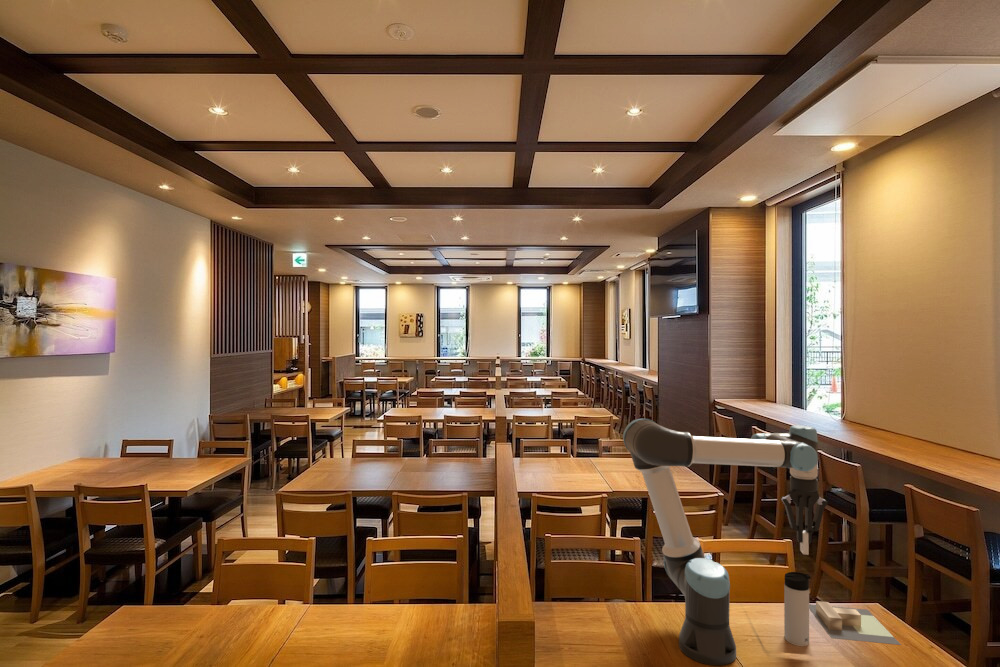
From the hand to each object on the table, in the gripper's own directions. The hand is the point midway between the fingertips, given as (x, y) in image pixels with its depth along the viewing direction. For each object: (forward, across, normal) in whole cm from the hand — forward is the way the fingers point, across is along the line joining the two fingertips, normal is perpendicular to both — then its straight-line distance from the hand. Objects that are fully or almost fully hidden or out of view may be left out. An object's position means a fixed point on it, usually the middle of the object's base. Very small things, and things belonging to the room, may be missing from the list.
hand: (804, 552), depth 166 cm
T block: (+20, +10, 0) cm, 23 cm away
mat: (+22, +13, 0) cm, 25 cm away
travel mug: (+22, -6, -13) cm, 26 cm away
